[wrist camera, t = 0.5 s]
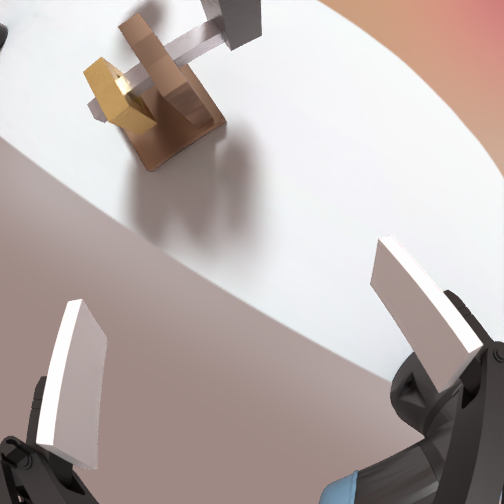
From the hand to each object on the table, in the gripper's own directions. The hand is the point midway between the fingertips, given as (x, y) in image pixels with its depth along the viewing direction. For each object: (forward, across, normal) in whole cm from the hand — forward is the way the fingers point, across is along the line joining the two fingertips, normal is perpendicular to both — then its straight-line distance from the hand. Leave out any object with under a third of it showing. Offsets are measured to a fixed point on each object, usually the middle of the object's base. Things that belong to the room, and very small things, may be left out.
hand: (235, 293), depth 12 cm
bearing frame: (+26, +3, -4) cm, 27 cm away
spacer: (+21, +6, -6) cm, 23 cm away
